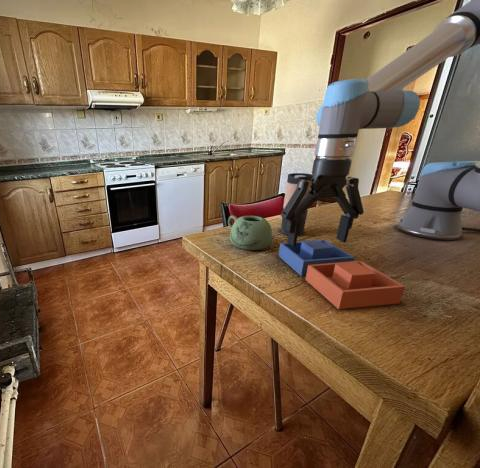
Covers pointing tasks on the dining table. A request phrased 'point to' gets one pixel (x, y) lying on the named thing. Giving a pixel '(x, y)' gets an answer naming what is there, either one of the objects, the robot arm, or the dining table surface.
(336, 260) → the blue bin
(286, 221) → the travel mug
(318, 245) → the blue block
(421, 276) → the dining table surface
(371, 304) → the terracotta bin
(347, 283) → the terracotta block
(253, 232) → the mug
